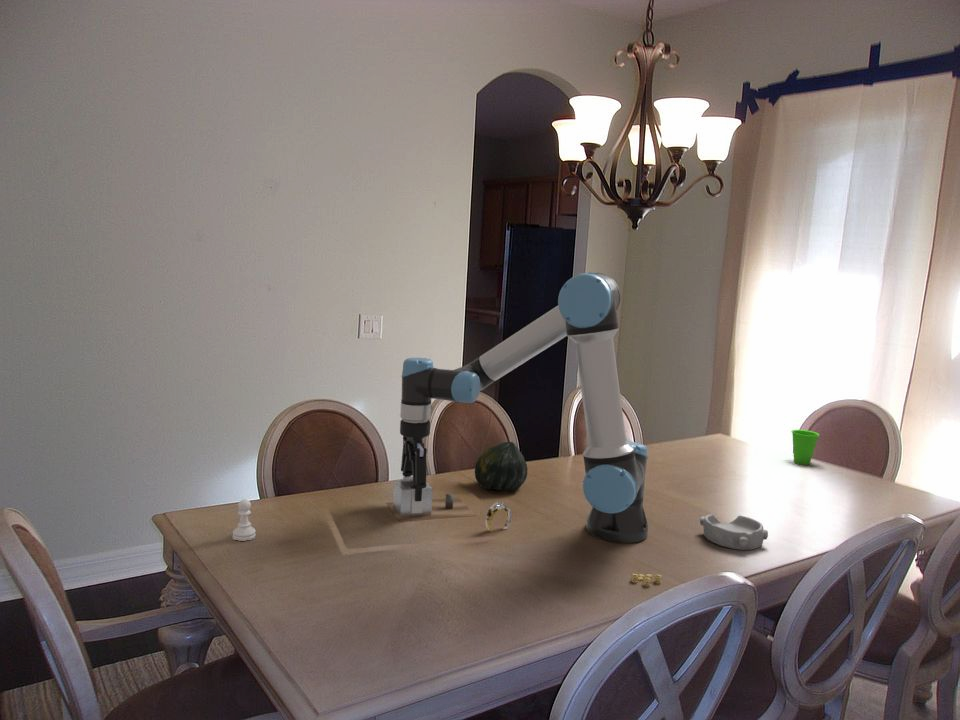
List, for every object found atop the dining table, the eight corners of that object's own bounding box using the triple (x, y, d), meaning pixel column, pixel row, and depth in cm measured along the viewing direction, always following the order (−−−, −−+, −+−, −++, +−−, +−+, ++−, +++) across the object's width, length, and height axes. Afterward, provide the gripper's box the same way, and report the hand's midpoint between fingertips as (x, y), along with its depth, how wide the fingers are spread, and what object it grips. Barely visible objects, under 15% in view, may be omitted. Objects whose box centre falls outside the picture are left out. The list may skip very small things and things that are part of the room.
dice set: (662, 584, 154) (663, 576, 154) (649, 591, 151) (650, 583, 150) (641, 576, 158) (642, 568, 157) (628, 583, 154) (629, 574, 154)
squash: (463, 462, 216) (482, 433, 206) (507, 460, 223) (527, 432, 213) (477, 504, 208) (497, 477, 197) (521, 501, 214) (543, 474, 204)
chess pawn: (260, 537, 167) (260, 499, 165) (243, 543, 162) (243, 505, 161) (245, 531, 169) (245, 494, 168) (227, 538, 165) (227, 500, 163)
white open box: (431, 514, 183) (432, 488, 182) (400, 517, 180) (401, 490, 179) (422, 504, 190) (423, 478, 189) (392, 506, 188) (393, 480, 187)
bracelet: (489, 538, 173) (490, 506, 172) (482, 534, 175) (483, 502, 174) (513, 534, 176) (515, 502, 175) (506, 529, 179) (508, 498, 178)
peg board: (476, 520, 184) (477, 496, 183) (399, 526, 177) (400, 502, 176) (458, 501, 197) (459, 479, 196) (386, 507, 190) (387, 484, 189)
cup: (817, 462, 258) (821, 432, 257) (813, 468, 251) (817, 437, 249) (790, 457, 263) (793, 428, 261) (786, 463, 255) (789, 432, 254)
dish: (691, 533, 184) (693, 514, 183) (736, 528, 189) (738, 510, 188) (730, 555, 171) (732, 535, 170) (776, 550, 175) (778, 530, 175)
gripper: (442, 428, 174) (438, 520, 177) (418, 410, 193) (415, 492, 196) (411, 430, 171) (408, 522, 174) (391, 410, 190) (388, 494, 194)
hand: (411, 506), depth 185 cm, fingers closed on white open box, 8 cm apart
